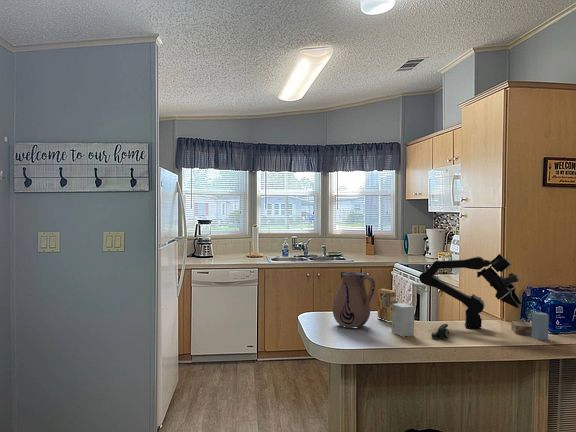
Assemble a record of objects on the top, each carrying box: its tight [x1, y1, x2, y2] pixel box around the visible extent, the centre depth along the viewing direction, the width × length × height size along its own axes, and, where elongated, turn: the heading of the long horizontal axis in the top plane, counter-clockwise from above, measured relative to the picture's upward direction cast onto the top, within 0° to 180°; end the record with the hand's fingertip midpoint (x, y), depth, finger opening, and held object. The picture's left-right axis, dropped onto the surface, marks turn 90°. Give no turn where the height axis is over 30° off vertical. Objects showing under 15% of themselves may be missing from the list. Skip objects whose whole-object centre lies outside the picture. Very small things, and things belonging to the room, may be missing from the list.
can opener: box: [430, 323, 450, 340], centre depth 198 cm, size 18×7×6 cm, turn 149°
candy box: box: [377, 288, 397, 321], centre depth 223 cm, size 9×4×15 cm, turn 33°
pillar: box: [531, 311, 550, 341], centre depth 196 cm, size 4×4×11 cm
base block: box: [510, 320, 532, 336], centre depth 206 cm, size 9×9×4 cm
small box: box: [391, 302, 415, 338], centre depth 198 cm, size 8×6×13 cm
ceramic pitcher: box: [332, 271, 376, 328], centre depth 210 cm, size 18×21×25 cm
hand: (519, 305), depth 202 cm, fingers open, 9 cm apart
